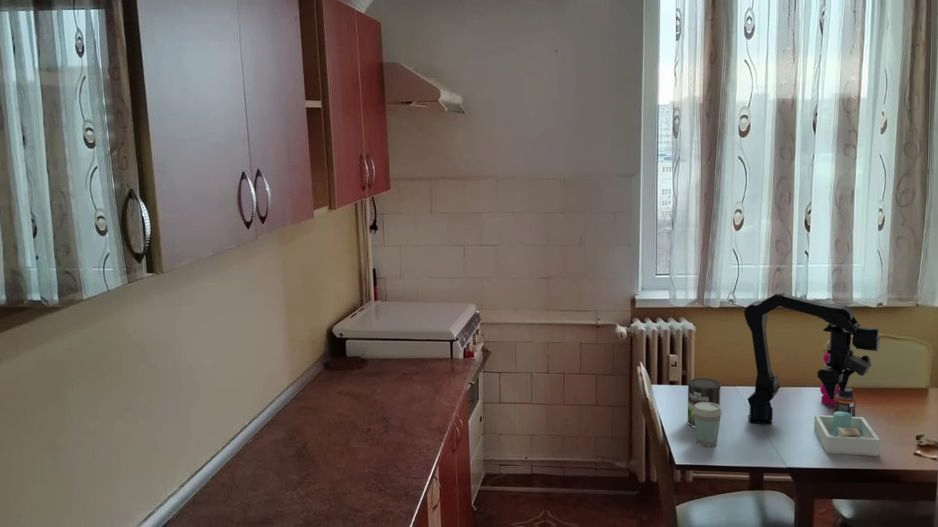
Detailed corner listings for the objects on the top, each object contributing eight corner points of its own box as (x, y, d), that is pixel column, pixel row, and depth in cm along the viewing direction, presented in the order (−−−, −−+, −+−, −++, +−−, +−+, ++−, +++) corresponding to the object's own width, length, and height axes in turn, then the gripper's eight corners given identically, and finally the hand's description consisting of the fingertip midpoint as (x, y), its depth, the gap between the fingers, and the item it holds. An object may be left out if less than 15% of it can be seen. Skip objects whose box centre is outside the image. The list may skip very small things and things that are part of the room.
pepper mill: (843, 400, 258) (846, 345, 255) (841, 407, 252) (844, 350, 249) (821, 397, 262) (823, 343, 259) (818, 404, 256) (820, 348, 253)
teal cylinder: (835, 438, 225) (836, 417, 224) (830, 432, 230) (831, 411, 229) (852, 439, 224) (853, 417, 223) (847, 432, 229) (848, 411, 228)
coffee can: (711, 432, 235) (712, 390, 233) (681, 425, 242) (682, 384, 240) (725, 422, 243) (726, 381, 240) (696, 416, 250) (696, 376, 247)
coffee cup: (717, 451, 221) (718, 412, 219) (688, 445, 226) (689, 408, 224) (724, 440, 228) (724, 403, 226) (696, 436, 233) (696, 399, 231)
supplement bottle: (857, 426, 235) (858, 392, 234) (837, 425, 237) (838, 391, 235) (851, 419, 241) (853, 386, 239) (831, 418, 242) (833, 385, 241)
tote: (826, 453, 217) (827, 437, 216) (814, 429, 234) (814, 414, 233) (879, 456, 213) (879, 440, 212) (862, 432, 230) (863, 417, 230)
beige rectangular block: (841, 449, 217) (842, 433, 217) (837, 443, 222) (838, 427, 221) (859, 450, 216) (860, 434, 215) (855, 444, 221) (856, 428, 220)
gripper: (857, 358, 213) (854, 409, 216) (878, 344, 226) (875, 393, 229) (818, 351, 221) (815, 400, 224) (840, 338, 234) (837, 385, 237)
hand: (837, 395), depth 228 cm, fingers open, 9 cm apart
